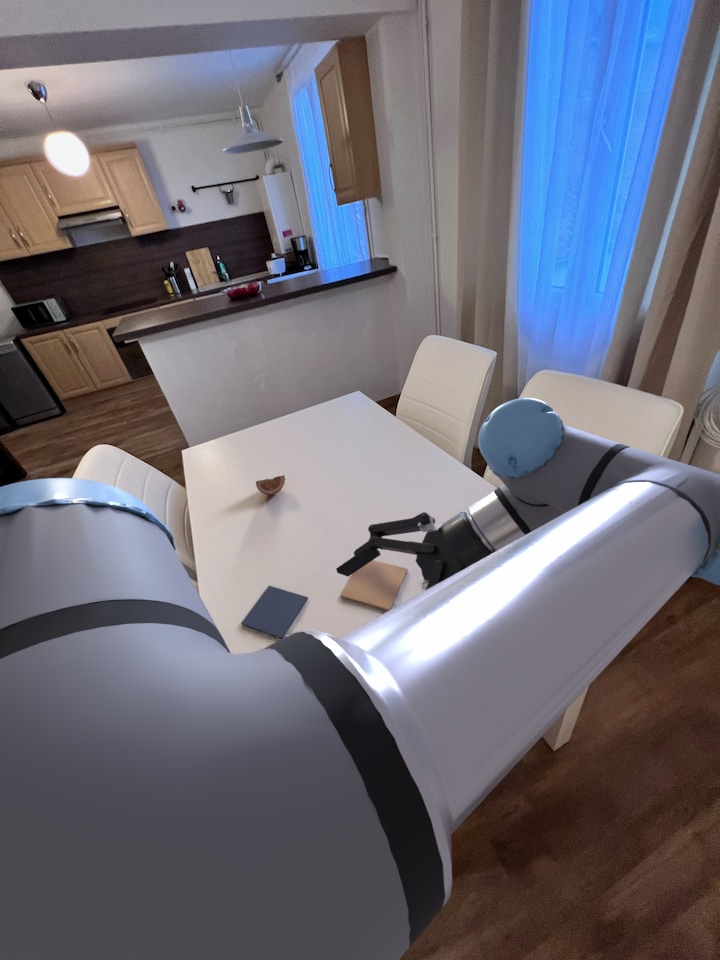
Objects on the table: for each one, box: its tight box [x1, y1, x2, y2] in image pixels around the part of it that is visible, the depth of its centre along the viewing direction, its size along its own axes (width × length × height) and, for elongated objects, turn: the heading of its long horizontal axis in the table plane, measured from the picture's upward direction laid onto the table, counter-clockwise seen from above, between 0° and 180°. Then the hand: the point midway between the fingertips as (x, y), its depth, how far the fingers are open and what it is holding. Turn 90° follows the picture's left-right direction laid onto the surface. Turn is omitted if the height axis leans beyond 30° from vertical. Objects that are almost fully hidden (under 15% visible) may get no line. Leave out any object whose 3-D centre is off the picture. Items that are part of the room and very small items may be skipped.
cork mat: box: [340, 560, 409, 612], centre depth 85 cm, size 11×11×1 cm
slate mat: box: [240, 585, 309, 640], centre depth 83 cm, size 10×10×1 cm
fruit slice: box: [255, 474, 287, 496], centre depth 116 cm, size 8×7×5 cm
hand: (355, 614), depth 57 cm, fingers open, 13 cm apart
